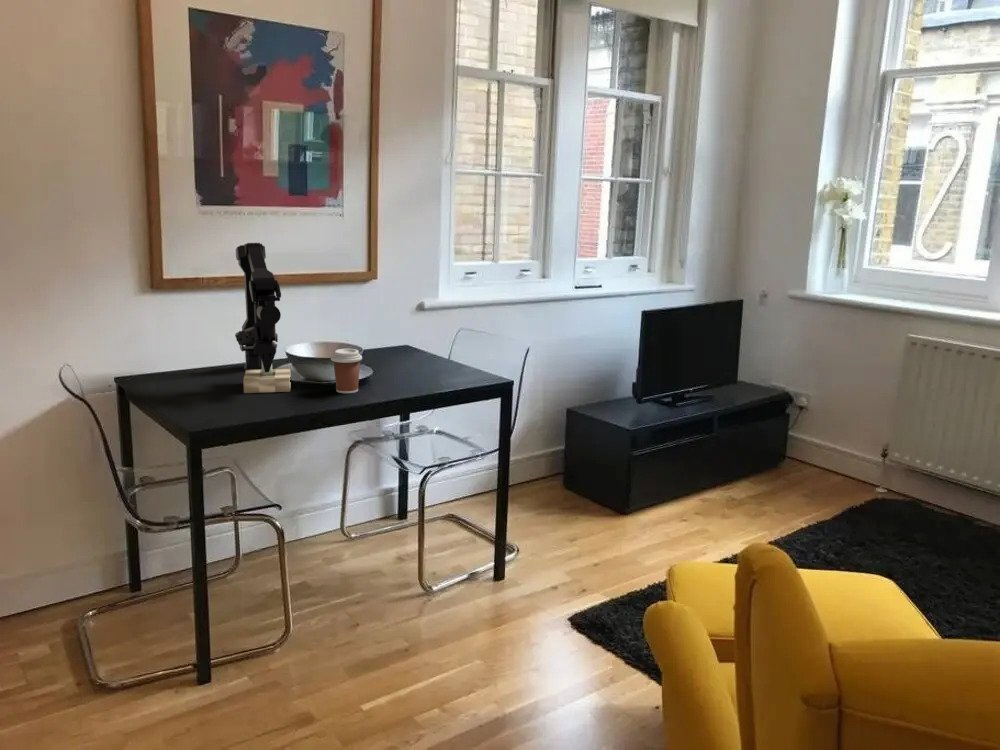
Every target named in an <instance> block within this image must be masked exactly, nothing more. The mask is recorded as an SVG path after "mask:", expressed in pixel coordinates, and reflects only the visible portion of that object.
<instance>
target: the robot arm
mask: <svg viewBox="0 0 1000 750" xmlns="http://www.w3.org/2000/svg"><path fill="white" fill-rule="evenodd" d="M266 255H267V254H266V246H265V245H263V243H260V242H247V243H245V244H242V245H241V244H239V246H237V247H236V248H235V259H236V261H238V263H237V264H238V266H239V268H240V269H241V271H242V272H243V276H244V278H243V279H244V295H245V313H246V316H245V318H246V319H245V320H244V322H243V324H242V326H241V330H239V331H237V332H236V333H235V334H234V336H235V339H236V342H237V344H238V345H239V349H240V351H241V352H244V353H245V354H244V355H245V357H244V358H245V364H244V368H243V370H244V371H246V370H260V369H262V363H263V366H264V370H265V372H269V370H270V368H271V365H272V366H273V361H274V358H275V356H276V354H277V348H278V344H277V343H278V341H279V340H278V339H279V338H278V334H277V332H276V324H278V322H279V321H280V319H281V317H282V316H281V311H280V309H279V308H278V307H277V306H276V302H281V298H282V292H281V287H280V283H279V281H278V280H277V279H276V278H275V276H274V273H273V272H272V271H270V270H268V268H267V264H266V260H265V259H266V258H267V256H266ZM261 359H262V360H261Z"/></svg>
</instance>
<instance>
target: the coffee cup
mask: <svg viewBox="0 0 1000 750" xmlns="http://www.w3.org/2000/svg"><path fill="white" fill-rule="evenodd" d="M330 360H331V361H332V362H333V371H334V380H335V390H336V392H337V393H339V394H355V393H357V392H359V384H360V383H359V381H360V369H361V368H360V365H361V361H363V356H362V355H361V354H360V352H359V350H358V349H355V348H339V349H336V350H334V354H333V355H331V356H330Z"/></svg>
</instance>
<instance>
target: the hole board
mask: <svg viewBox="0 0 1000 750" xmlns="http://www.w3.org/2000/svg"><path fill="white" fill-rule="evenodd" d="M272 372H273V376H262V369H260V370H245V372H244V376H243V383H242V384H243V394H254V393H255V394H259V393H260V394H261V393H280V392H281V393H282V392H283V393H284V392H285V393H286V392H287V393H288V392H291V383H292V381H291V382H290V377H291V368H272Z"/></svg>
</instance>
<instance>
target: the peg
mask: <svg viewBox="0 0 1000 750" xmlns="http://www.w3.org/2000/svg"><path fill="white" fill-rule="evenodd" d="M261 360H262V359H261ZM272 369H273V364H272V365H271V368H270V370H269V372H265V370H264V366H263V363H262V376H273V372H272Z"/></svg>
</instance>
